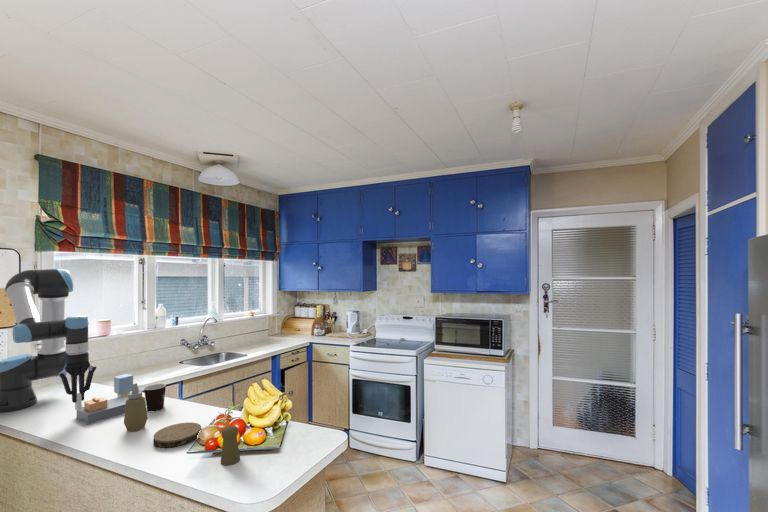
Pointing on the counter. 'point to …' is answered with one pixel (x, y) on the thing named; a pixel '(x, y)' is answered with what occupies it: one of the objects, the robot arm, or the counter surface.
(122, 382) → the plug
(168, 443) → the brown round disc
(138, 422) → the squeeze bottle
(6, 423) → the counter surface
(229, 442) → the pepper mill
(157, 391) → the coffee mug
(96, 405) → the orange ridged block
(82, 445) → the counter surface
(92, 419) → the socket plate
